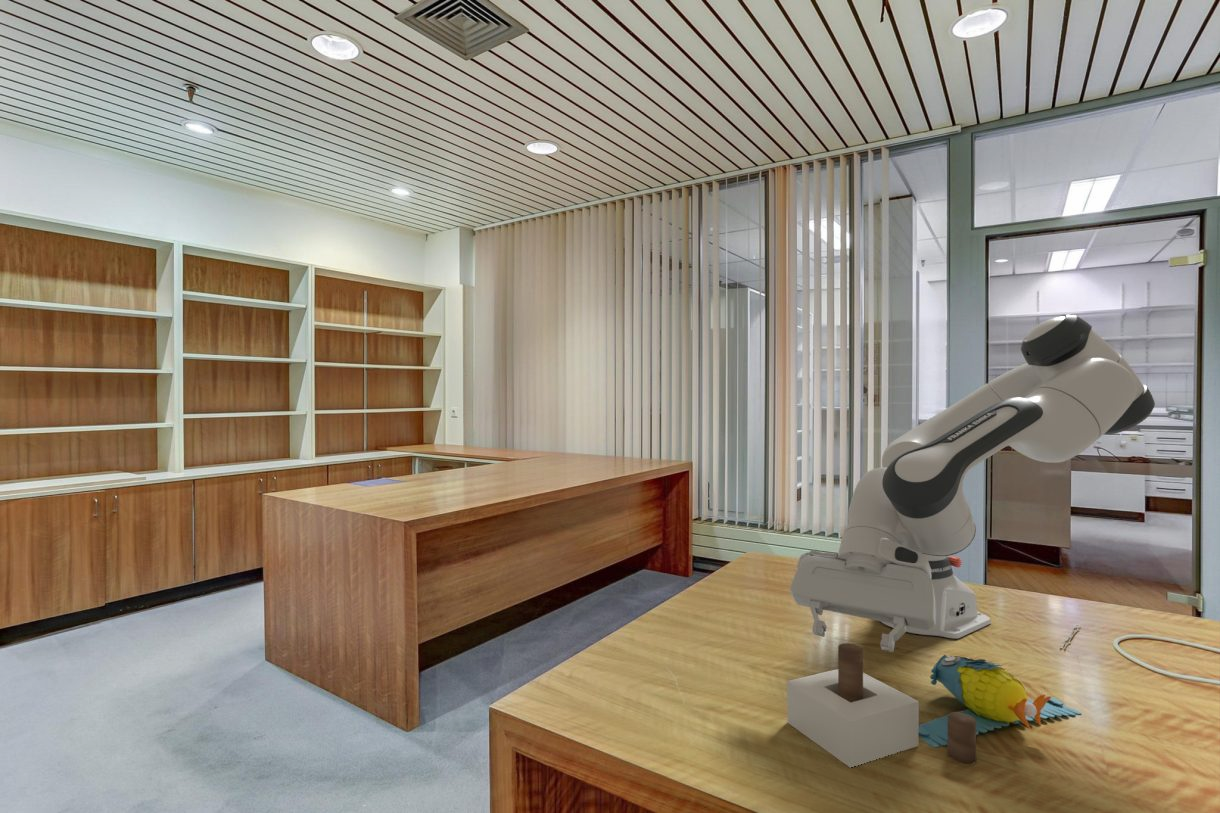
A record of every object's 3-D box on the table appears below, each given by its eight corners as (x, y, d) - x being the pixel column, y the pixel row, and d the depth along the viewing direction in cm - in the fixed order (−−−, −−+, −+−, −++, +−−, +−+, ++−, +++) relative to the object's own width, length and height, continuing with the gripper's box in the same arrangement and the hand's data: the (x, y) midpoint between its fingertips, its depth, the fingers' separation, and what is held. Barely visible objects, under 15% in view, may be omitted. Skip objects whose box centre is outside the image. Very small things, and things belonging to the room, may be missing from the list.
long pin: (845, 725, 88) (845, 641, 88) (867, 734, 86) (867, 648, 85) (834, 733, 86) (834, 647, 86) (856, 743, 83) (856, 654, 83)
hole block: (850, 705, 94) (850, 665, 94) (918, 745, 83) (918, 701, 83) (787, 722, 89) (787, 681, 89) (850, 768, 78) (850, 720, 78)
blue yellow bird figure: (954, 698, 79) (870, 654, 93) (955, 767, 79) (871, 712, 93) (1108, 667, 88) (1009, 631, 102) (1109, 728, 87) (1010, 684, 102)
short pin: (958, 747, 82) (958, 710, 82) (981, 760, 79) (981, 721, 79) (941, 753, 81) (942, 715, 81) (964, 766, 78) (964, 726, 78)
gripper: (797, 538, 101) (775, 615, 93) (938, 557, 89) (926, 647, 81) (806, 559, 104) (785, 635, 96) (943, 580, 92) (932, 669, 85)
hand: (851, 641), depth 89 cm, fingers open, 8 cm apart
